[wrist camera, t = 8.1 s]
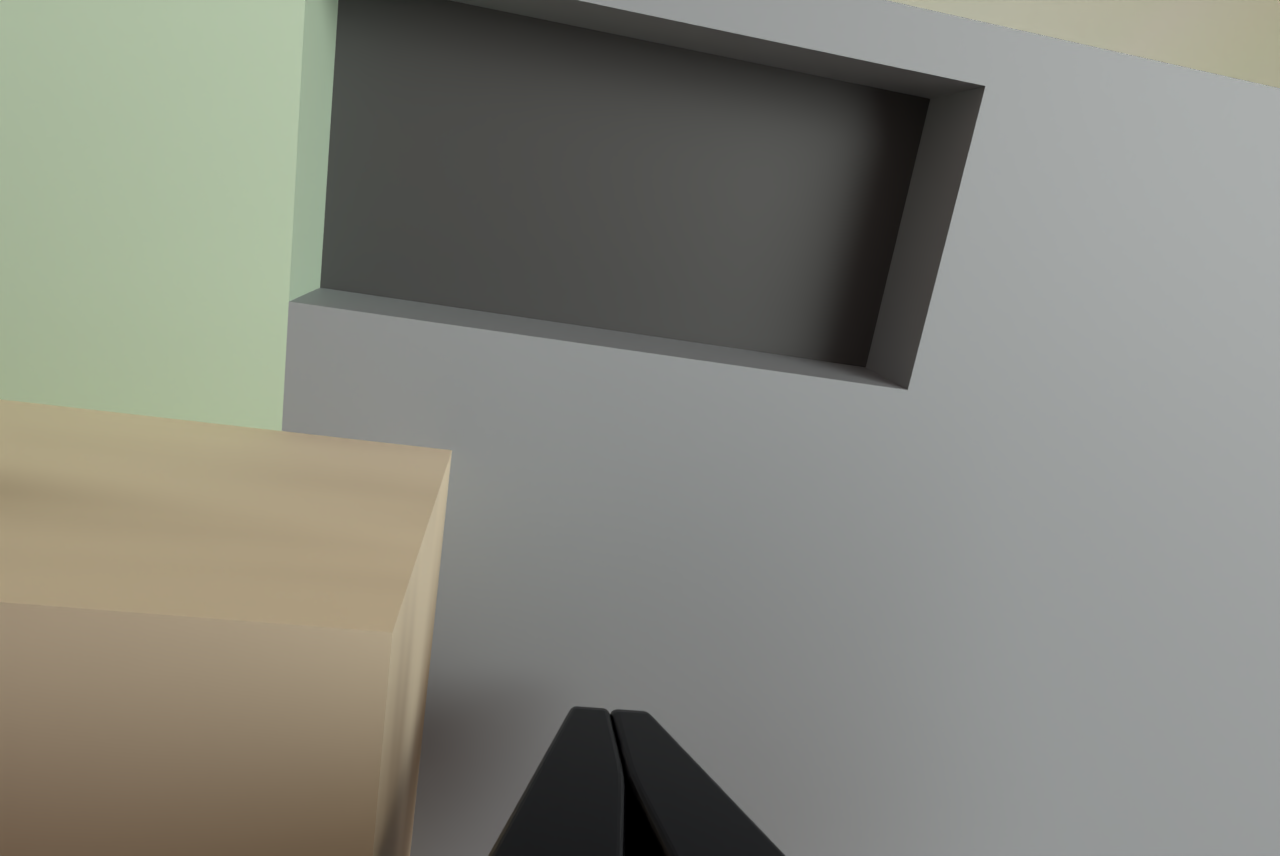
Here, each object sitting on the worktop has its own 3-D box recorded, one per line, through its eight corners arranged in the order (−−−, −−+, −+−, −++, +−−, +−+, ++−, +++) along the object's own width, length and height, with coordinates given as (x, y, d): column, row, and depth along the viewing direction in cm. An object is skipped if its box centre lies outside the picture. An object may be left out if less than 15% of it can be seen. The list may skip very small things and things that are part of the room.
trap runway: (1201, 1041, 16) (1448, 1357, 12) (-229, 1031, 12) (-657, 1502, 8) (1580, 187, 12) (2182, 187, 7) (-407, -240, 8) (-1534, -757, 4)
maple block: (407, 881, 11) (335, 1259, 7) (-105, 866, 10) (-512, 1295, 6) (451, 451, 9) (392, 631, 5) (-151, 382, 8) (-733, 544, 4)
